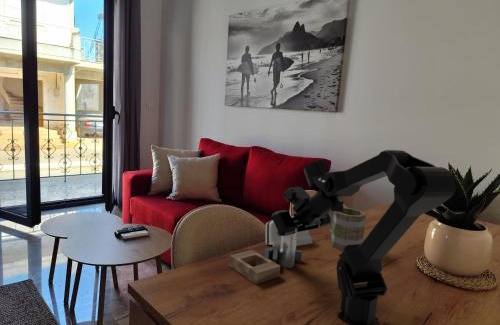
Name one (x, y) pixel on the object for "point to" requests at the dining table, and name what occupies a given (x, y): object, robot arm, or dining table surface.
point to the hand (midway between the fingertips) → (285, 232)
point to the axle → (288, 249)
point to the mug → (347, 227)
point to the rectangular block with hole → (258, 273)
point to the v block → (274, 254)
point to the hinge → (275, 240)
